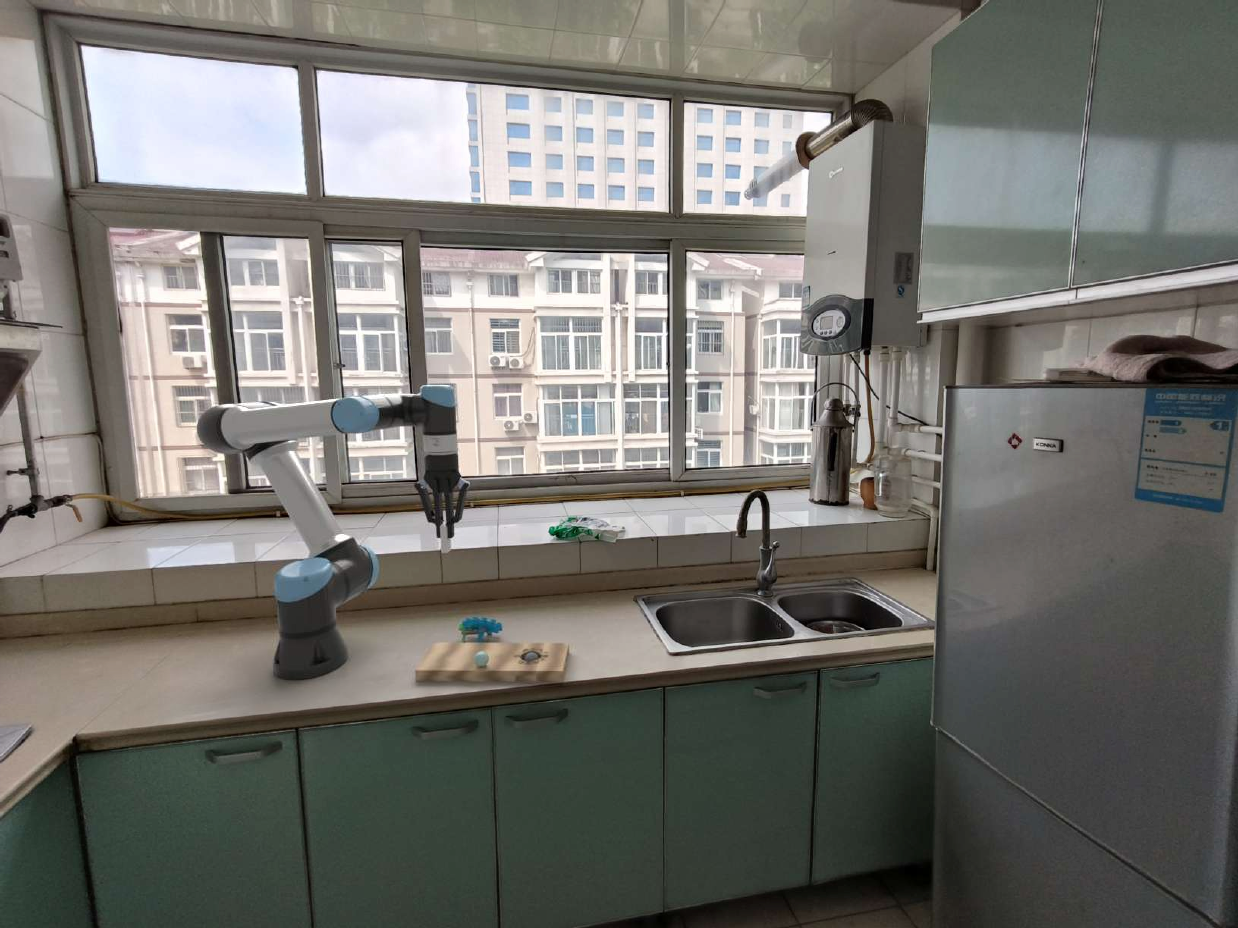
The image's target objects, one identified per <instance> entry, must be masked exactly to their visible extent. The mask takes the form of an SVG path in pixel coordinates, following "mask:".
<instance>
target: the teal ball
mask: <svg viewBox="0 0 1238 928" xmlns="http://www.w3.org/2000/svg"><path fill="white" fill-rule="evenodd" d="M488 661H489V656H488V654H487V653H486V652H483V651H481V652H478V653H477V654H476V655H475V657H474V662H475V664H476V665H477V666H479V667H483V666H485V665H487V663H488Z"/></svg>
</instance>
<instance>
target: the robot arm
mask: <svg viewBox="0 0 1238 928" xmlns="http://www.w3.org/2000/svg"><path fill="white" fill-rule="evenodd" d="M455 394H456V393H455V389H454V387H453V386H451V385H448V384H446V385H445V384H439V385H438V384H434V385H433V384H432V385H431V384H428V385H427V384H426V385H422V386H420V389H419V393H416V394H415V393H393V392H392V393H391V392H389V393H388V392H387V393H379V394H375V395H351V396H348V397H347V396H346V397H343V398H335V399H325V400H317V401H316V400H315V401H309V402H300V403H293V404H282V403H279V402H273V401H264V400H261V401H255V402H244V403H243V402H242V403H226V404H225V403H224V404H219V405H215V406H212V407H210V408H208V409H207V410H205V411H203V413H202V414H201V415H200V416H199V419H198V421H197V424H196V435H197V436H198V439H199V441H200V442H201V444H203V446H205V447H206V448H207V449H209V450H210V451H212V452H215V453H218V454H223V455H235V454H242V453H243V454H244V456H245V457H246V458H247V460H248V462H249V464H250V465H253V466H257V467H260V468H261V470H262V472H263V474H264V475H265V478H266V479H267V481H268V482H269V484H270V486H271V487H272V489H273V491H274V493H275V494H276V496H277V498H278V499H279V501H280V502H281V505H282V506H283V508H284V510H285V512H286V513H287V514H288V516H289V518H290V520H291V521H292V523H293V525H294V527H295V529H296V530H297V532H298V534H299V536H300V537H301V539H302V541H303V543H304V544H305V546H306V548H307V549H308V551H309V553H308V556H307V558H303V559H302V560H296V561H294V562H293V561H292V562H291V563H289V564H286V565H285V566H284V567H281V569H279V570H278V571H277V572H276V575H275V577H274V581H273V583H274V588H273V595H274V598H275V607H276V608H275V609H276V616H277V625H278V633H279V634H278V636H279V638H278V641H277V642H278V643H277V645H276V649H275V654H274V658H273V661H272V666H273V674H274V675H275V676H276V677H278V678H280V679H284V680H294V681H295V680H303V679H304V680H305V679H310V678H314V677H315V678H316V677H318V676H322V675H324V674H327V673H330V672H333V671H334V670H336V669H337V668H339V667H341V666H342V665H343V664H345V662H346V661H347V660H348V658H349V657H348V656H349V653H348V646H347V643H346V641H345V640H344V637H343V635H342V633H341V631H340V629H339V627H338V623H337V611H336V608H338V607H340V606H341V605H343V604H345V603H347V602H348V601H349V600H350V601H351V600H352V599H353V598H355V597H357V596H359V595H361V594H363V593H365V592H366V591H367V590H368V589H369V588H371V587H372V586H373V585H374V584H375V582H376V580H377V579H378V575H379V570H380V566H379V560H378V557H377V555H376V553H375V552H374V551H373V550H372V549H371V548H370V547H366V545H364V544H363V545H362V544H358V542H357V541H356V539H355V537H354V536H352V535H349V534H346V533H344V531H343V530H342V527H341V526H340V524H339V522H338V521H337V519H336V517H335V516H334V514H333V512H332V510H331V508H330V507H329V505H328V503H327V502H326V500H325V499H324V497H323V495H322V494H321V491H320V490H319V488H318V486H317V485H316V483H315V481H314V479H313V478H312V476H311V475H310V472H309V471H308V469H307V467H306V466H305V464H304V462H303V461H302V459H301V457H300V455H299V453H298V452H297V451H298V448H299V446H300V442H299V440H298V439H308V438H317V437H327V436H329V437H330V436H337V435H346V434H348V435H350V434H355V435H356V434H364V433H368V432H373V431H378V430H387V429H392V428H394V429H395V428H399V427H400V428H402V427H419V428H420V427H421V428H422V439H423V440H422V441H423V443H422V444H423V451H424V453H425V454H424V455H423V458H424V470H425V471H424V474H423V478H422V479H421V480H419V481H417V482H415V483H414V484H413V486H414V487H413V488H415V490H416V491H417V492H418V494H419V498H420V501H421V504H422V508H423V510H424V514H425V517H426V521H427V523H432V524H434V525H435V528H436V531H435V532H436V534H435V535H436V538H437V539H440V550H441V551H440V552H441V554H448V553H449V552H450V551H452V540H451V539H453V538H454V537H455V524H457V523H459V522H461V520H462V519H463V513H464V508H465V505H466V498H467V494H468V490H469V488H470V487H471V485H472V481H470V480H465V479H464V478H462V474H461V472H460V470H459V469H460V468H459V454H458V452H456V451H458V450H459V446H458V443H459V442H458V431H457V430H458V429H457V410H456V409H457V403H456V402H457V401H456V396H455ZM458 484H459V485H458ZM457 486H458V488H459V492H458V497H457V502H456V507H455V505H454V503H455V502H454V490H455V489H456V487H457ZM428 487H429V488H430V490H431V491H432V497H433V503H432V500H431V497H430V494H429V490H428ZM443 497H444V503H443ZM454 507H455V508H454ZM444 508H445V519H444Z"/></svg>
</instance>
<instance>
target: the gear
mask: <svg viewBox="0 0 1238 928" xmlns="http://www.w3.org/2000/svg"><path fill="white" fill-rule="evenodd" d="M461 621H462V622H461V623H459V625H458V630H459V631H461V633H460V634H461V635H462V637H461V642H460V643H466V636H471V635H473V636H474V635H478V636H477V642H476V643H483V641H482V640H483V635H484V634H486V635H492V634H493V633H495V634H499V632H502V631H503V626H502V625H503V624H502V622H498V621H497V620H496V619H493V618H491V619H490V621H489V620H488V618H487V617H486V616H485V617H482V616H481V618H480V619H479V618H478V616H473V617H472V618H470V617H466V618H465V620H461Z"/></svg>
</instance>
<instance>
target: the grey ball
mask: <svg viewBox="0 0 1238 928" xmlns="http://www.w3.org/2000/svg"><path fill="white" fill-rule="evenodd" d="M538 659H539V658H538V656H537V654H535V653H533V652H531V653H528V654H527V655H526V656H525V659H524V661H535V660H538Z"/></svg>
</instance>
